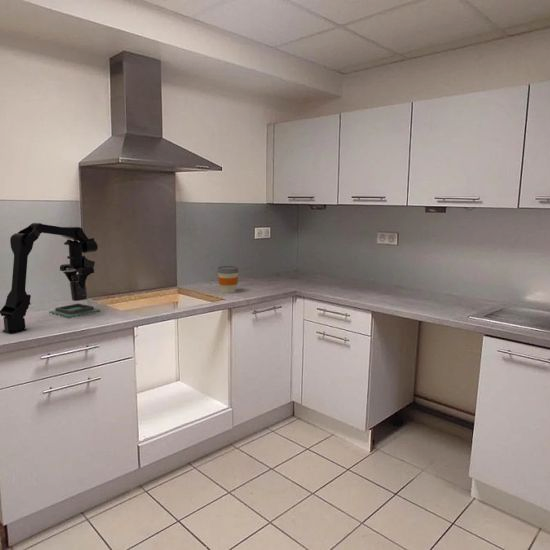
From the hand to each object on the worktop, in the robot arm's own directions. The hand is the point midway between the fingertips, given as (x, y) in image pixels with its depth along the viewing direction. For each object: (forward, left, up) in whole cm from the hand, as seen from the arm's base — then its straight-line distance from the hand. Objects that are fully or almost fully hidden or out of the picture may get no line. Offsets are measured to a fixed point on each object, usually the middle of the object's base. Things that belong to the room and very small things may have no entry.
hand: (78, 287), depth 201 cm
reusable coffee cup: (+83, -24, -13) cm, 87 cm away
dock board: (+1, +5, -13) cm, 14 cm away
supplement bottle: (0, -1, -6) cm, 6 cm away
